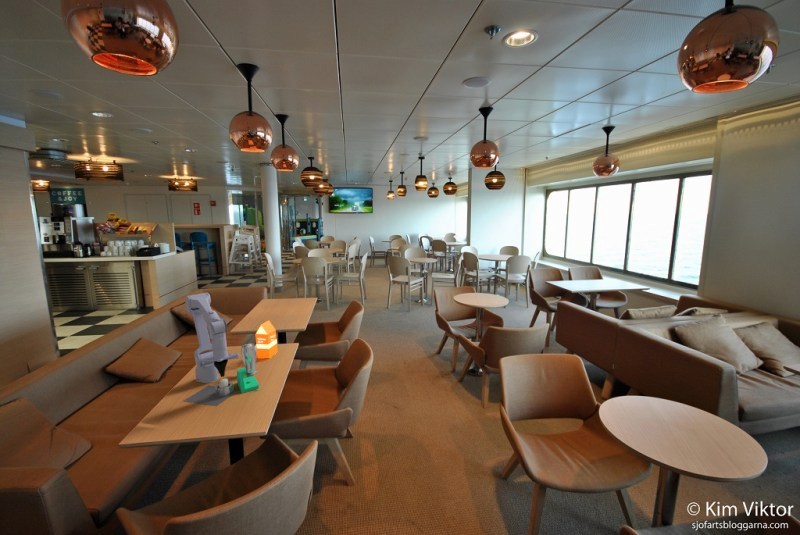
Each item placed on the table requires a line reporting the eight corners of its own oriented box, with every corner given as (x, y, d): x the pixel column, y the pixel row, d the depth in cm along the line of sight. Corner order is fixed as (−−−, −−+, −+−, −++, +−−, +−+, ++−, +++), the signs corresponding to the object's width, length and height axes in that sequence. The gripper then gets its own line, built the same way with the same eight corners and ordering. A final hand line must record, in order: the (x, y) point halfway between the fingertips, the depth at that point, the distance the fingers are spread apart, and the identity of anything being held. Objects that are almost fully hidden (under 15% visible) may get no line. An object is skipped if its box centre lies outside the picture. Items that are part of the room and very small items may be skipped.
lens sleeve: (211, 395, 148) (211, 388, 148) (224, 387, 155) (223, 380, 155) (225, 397, 146) (224, 390, 146) (237, 389, 153) (236, 382, 153)
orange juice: (257, 358, 190) (254, 324, 187) (265, 352, 199) (263, 320, 196) (269, 358, 189) (266, 325, 186) (277, 352, 198) (275, 320, 195)
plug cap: (218, 394, 149) (216, 382, 148) (224, 390, 153) (223, 378, 152) (224, 395, 148) (223, 382, 148) (230, 391, 152) (229, 379, 151)
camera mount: (259, 390, 154) (257, 369, 153) (242, 395, 150) (239, 374, 149) (254, 380, 164) (252, 360, 163) (237, 385, 160) (235, 365, 158)
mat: (182, 403, 145) (182, 401, 145) (208, 387, 158) (208, 385, 158) (216, 408, 140) (216, 406, 140) (240, 391, 153) (240, 389, 153)
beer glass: (243, 377, 167) (241, 349, 165) (243, 372, 173) (240, 344, 171) (258, 374, 170) (256, 346, 168) (257, 369, 176) (255, 342, 174)
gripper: (199, 353, 141) (202, 383, 143) (236, 347, 146) (239, 376, 148) (202, 347, 148) (205, 376, 150) (238, 342, 153) (240, 369, 155)
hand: (222, 375), depth 149 cm, fingers closed
